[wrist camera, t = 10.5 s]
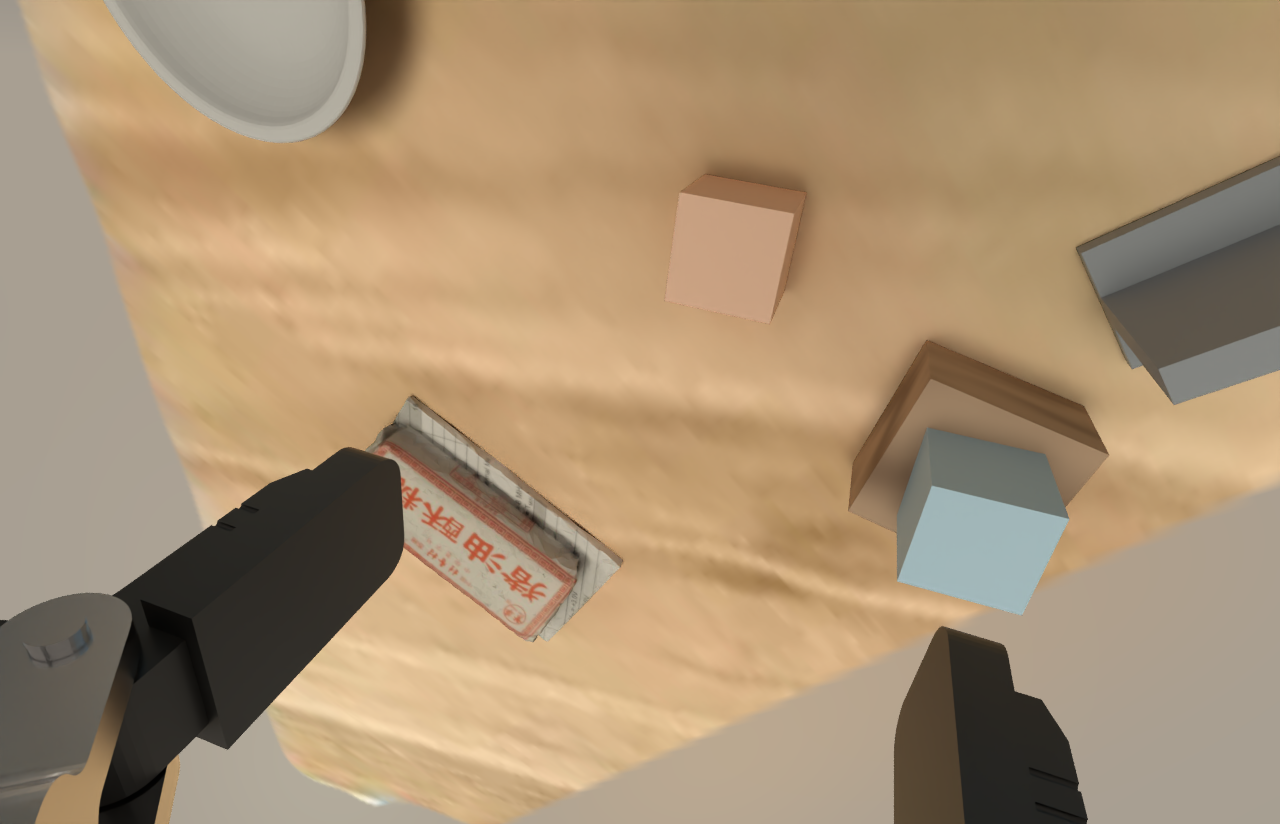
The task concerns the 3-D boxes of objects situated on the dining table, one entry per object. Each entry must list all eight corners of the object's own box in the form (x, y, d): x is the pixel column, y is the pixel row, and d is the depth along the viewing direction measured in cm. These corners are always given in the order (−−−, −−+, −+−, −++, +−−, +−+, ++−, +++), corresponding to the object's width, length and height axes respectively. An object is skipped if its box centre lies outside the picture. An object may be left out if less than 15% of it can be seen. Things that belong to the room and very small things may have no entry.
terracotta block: (705, 173, 35) (679, 192, 31) (806, 192, 34) (794, 213, 30) (690, 271, 37) (664, 300, 33) (784, 291, 36) (769, 324, 32)
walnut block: (926, 338, 35) (930, 378, 31) (1083, 404, 34) (1109, 454, 30) (853, 460, 40) (848, 511, 35) (991, 522, 39) (1002, 581, 34)
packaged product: (320, 516, 48) (371, 422, 43) (364, 479, 52) (416, 389, 47) (529, 677, 49) (604, 604, 44) (556, 628, 53) (628, 556, 48)
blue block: (927, 427, 32) (931, 485, 28) (1045, 454, 31) (1069, 518, 27) (896, 515, 35) (897, 581, 30) (1005, 543, 34) (1021, 615, 29)
